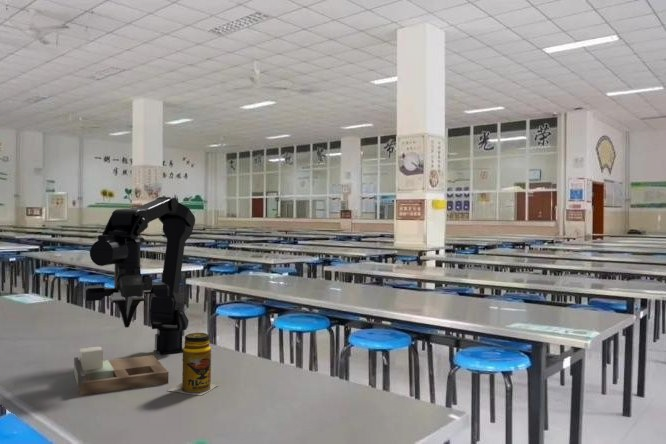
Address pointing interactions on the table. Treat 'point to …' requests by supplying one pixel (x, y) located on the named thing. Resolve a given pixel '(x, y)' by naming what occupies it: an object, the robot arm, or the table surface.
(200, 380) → the condiment
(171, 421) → the table surface
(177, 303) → the robot arm
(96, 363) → the block
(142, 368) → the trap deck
